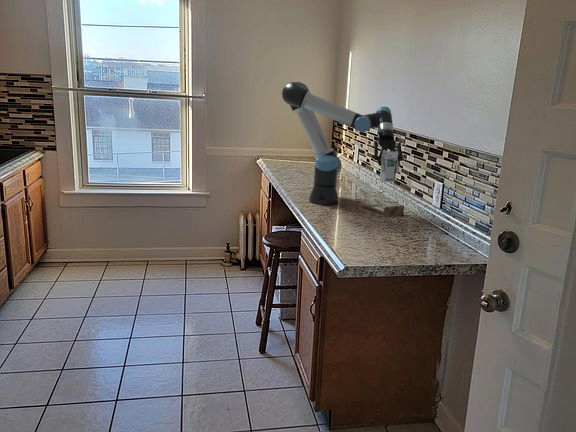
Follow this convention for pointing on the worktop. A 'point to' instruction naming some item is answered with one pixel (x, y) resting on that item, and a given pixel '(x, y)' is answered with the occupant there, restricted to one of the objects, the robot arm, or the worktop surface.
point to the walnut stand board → (386, 209)
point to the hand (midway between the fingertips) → (390, 171)
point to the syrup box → (389, 166)
